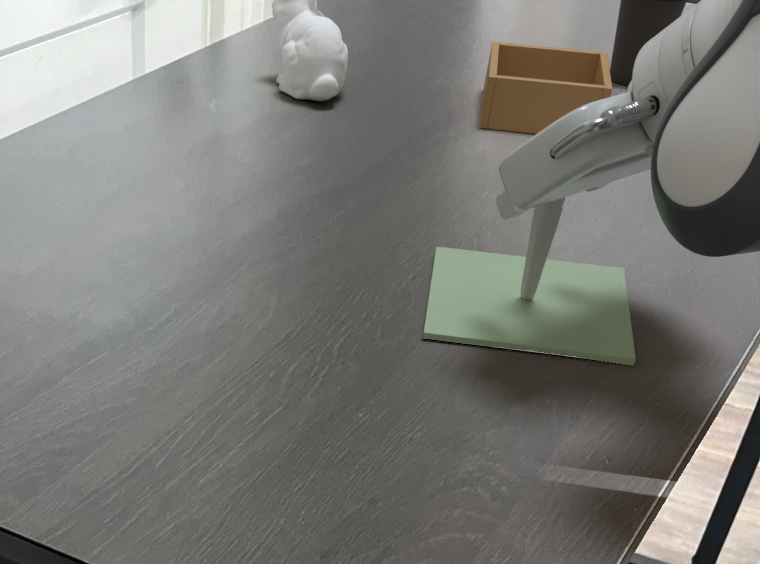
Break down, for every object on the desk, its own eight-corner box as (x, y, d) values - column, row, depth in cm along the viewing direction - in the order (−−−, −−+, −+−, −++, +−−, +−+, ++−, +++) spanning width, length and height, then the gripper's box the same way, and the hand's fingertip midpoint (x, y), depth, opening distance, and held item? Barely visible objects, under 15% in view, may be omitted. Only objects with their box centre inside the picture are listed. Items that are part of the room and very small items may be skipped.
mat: (622, 274, 94) (624, 267, 94) (633, 366, 83) (635, 358, 83) (435, 253, 96) (436, 246, 95) (422, 339, 85) (423, 332, 84)
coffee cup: (676, 78, 132) (706, -20, 124) (652, 95, 127) (681, -6, 120) (612, 64, 135) (637, -33, 128) (586, 80, 130) (610, -20, 123)
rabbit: (260, 76, 127) (267, -48, 118) (335, 71, 129) (347, -51, 121) (296, 112, 119) (306, -18, 111) (376, 106, 121) (392, -22, 113)
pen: (547, 305, 88) (597, 117, 78) (516, 307, 88) (562, 119, 78) (535, 290, 90) (582, 104, 80) (504, 292, 90) (547, 106, 79)
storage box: (594, 101, 125) (607, 52, 121) (598, 140, 116) (612, 88, 113) (483, 90, 126) (492, 41, 123) (479, 128, 118) (489, 76, 114)
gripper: (614, 169, 67) (467, 267, 80) (803, 108, 76) (645, 205, 88) (577, 68, 66) (434, 182, 79) (773, 18, 75) (617, 128, 88)
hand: (547, 194), depth 84 cm, fingers open, 8 cm apart
